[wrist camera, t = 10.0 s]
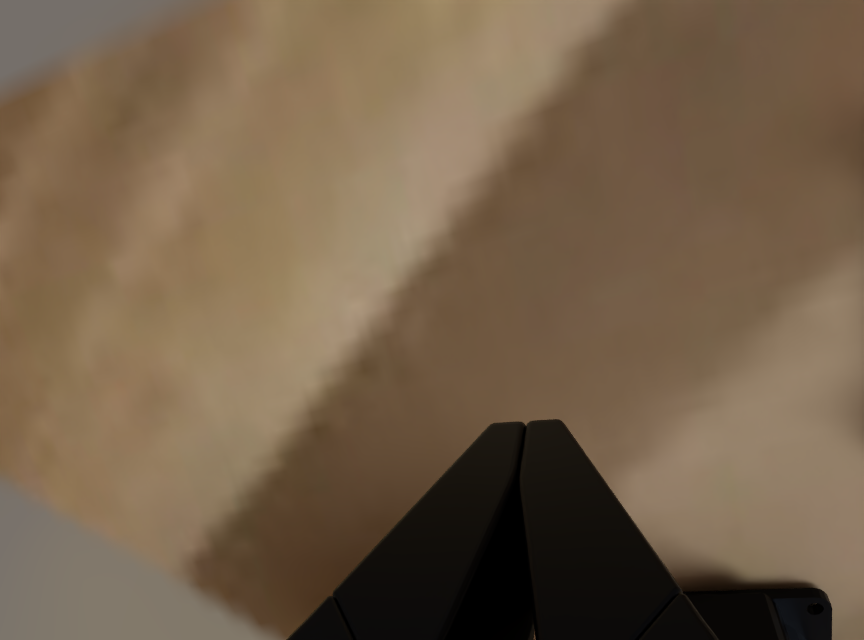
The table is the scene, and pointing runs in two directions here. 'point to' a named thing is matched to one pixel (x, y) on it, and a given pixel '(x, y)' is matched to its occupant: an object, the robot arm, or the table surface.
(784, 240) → the table surface
